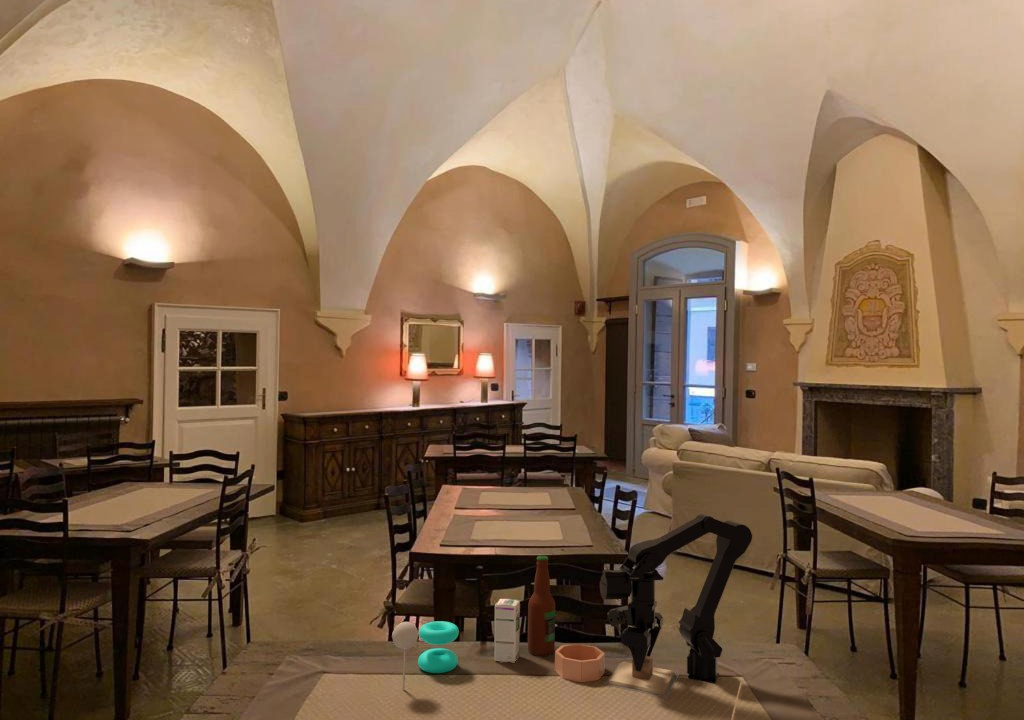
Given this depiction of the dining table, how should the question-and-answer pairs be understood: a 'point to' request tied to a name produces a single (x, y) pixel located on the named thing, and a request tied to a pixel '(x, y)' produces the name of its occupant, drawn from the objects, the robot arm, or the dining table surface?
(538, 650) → the bottle
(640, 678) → the lid
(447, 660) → the donuts
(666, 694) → the mat
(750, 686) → the dining table surface
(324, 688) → the dining table surface
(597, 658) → the bowl
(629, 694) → the dining table surface
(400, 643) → the lollipop
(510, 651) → the syrup box
